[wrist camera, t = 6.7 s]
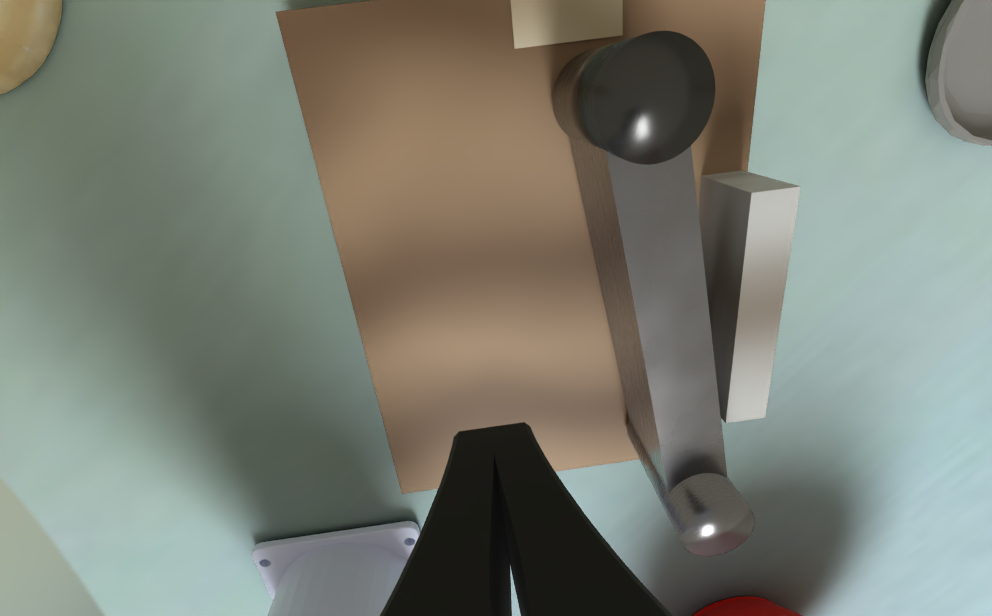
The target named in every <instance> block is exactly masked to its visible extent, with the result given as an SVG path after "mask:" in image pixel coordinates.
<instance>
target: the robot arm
mask: <svg viewBox="0 0 992 616" xmlns="http://www.w3.org/2000/svg"><path fill="white" fill-rule="evenodd" d="M408 538H412V539H408ZM251 556H252V558H253V561H254V563H255V565H256V567H257V569H258V571H259V573H260V575H261V577H262V579H263V582H264V584H265V586H266V588H267V590H268V592H269V594H270V596H271V598H272V600H273V602H272V605H271V608H270V610H269V613H268V616H512V609H511V580H510V566H511V570H512V575H513V580H514V585H515V589H516V594H517V599H518V603H519V608H520V613H521V616H672V615H671V614H670V613H669V612H668V611H667V610H666V609H665V607H664V606H663V605H662V604H661V603H660V602H659V601H658V600H657V599H656V598H655V597H654V596H653V595H652V593H651V592H650V591H649V590H648V589H647V588H646V587H645V586H644V585H643V584H642V583H641V582H640V580H639V579H638V578H637V577H636V576H635V575H634V574H633V573H632V571H631V570H630V569H629V568H628V567H627V566H626V565H625V563H624V562H623V561H622V560H621V559H620V558H619V556H618V555H617V554H616V553H615V552H614V550H613V549H612V548H611V547H610V545H609V544H608V543H607V542H606V541H605V539H604V538H603V537H602V536H601V534H600V533H599V532H598V531H597V529H596V528H595V527H594V526H593V524H592V523H591V522H590V520H589V519H588V518H587V516H586V515H585V514H584V513H583V511H582V510H581V508H580V507H579V506H578V504H577V503H576V501H575V500H574V499H573V497H572V496H571V494H570V493H569V492H568V490H567V489H566V487H565V486H564V485H563V483H562V482H561V480H560V479H559V477H558V476H557V474H556V473H555V471H554V469H553V468H552V466H551V465H550V463H549V461H548V460H547V458H546V456H545V455H544V453H543V451H542V449H541V448H540V446H539V444H538V442H537V440H536V438H535V436H534V434H533V431H532V429H531V427H530V426H529V425H528V424H526V423H525V422H521V423H514V424H507V425H500V426H493V427H486V428H479V429H472V430H465V431H459V432H458V433H457V434H456V435H455V436H454V438H453V443H452V447H451V451H450V455H449V459H448V462H447V465H446V468H445V471H444V474H443V477H442V480H441V483H440V486H439V488H438V491H437V494H436V496H435V499H434V501H433V504H432V506H431V509H430V511H429V514H428V516H427V518H426V521H425V523H424V526H423V528H422V531H421V533H420V531H419V527H418V525H417V524H416V523H414V522H412V521H404V522H397V523H391V524H384V525H377V526H370V527H363V528H356V529H350V530H343V531H336V532H329V533H322V534H316V535H309V536H302V537H295V538H288V539H282V540H275V541H268V542H261V543H258V544H256V545H255V546H254V549H253V551H252V553H251Z"/></svg>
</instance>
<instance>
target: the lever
mask: <svg viewBox="0 0 992 616" xmlns="http://www.w3.org/2000/svg"><path fill="white" fill-rule="evenodd" d="M714 100H715V77H714V72H713V68H712V65H711V63H710V60H709V58H708V57H707V55H706V53H705V52H704V50H703V49H702V48H701V47H700V46H699V45H698V44H697V43H696V42H695V41H694V40H692V39H691V38H689V37H687V36H685V35H683V34H681V33H677V32H673V31H654V32H650V33H646V34H642V35H639V36H636V37H632V38H629V39H626V40H623V41H619V42H616V43H613V44H609V45H606V46H603V47H599V48H596V49H593V50H590V51H586V52H584V53H581V54H579V55H578V56H576V57H574V58H573V59H572V60H570V61H569V62H568V63H567V64H566V65H565V67H564V68H563V69H562V71H561V72H560V74H559V76H558V78H557V80H556V82H555V85H554V89H553V96H552V106H553V112H554V115H555V118H556V121H557V123H558V124H559V126H560V128H561V129H562V130H563V131H564V132H565V133H566V134H567V135H568V136H569V140H570V144H571V149H572V154H573V158H574V163H575V168H576V172H577V177H578V182H579V187H580V191H581V196H582V201H583V205H584V210H585V215H586V219H587V224H588V229H589V233H590V238H591V243H592V248H593V252H594V257H595V262H596V266H597V271H598V276H599V280H600V285H601V290H602V294H603V299H604V304H605V309H606V313H607V318H608V323H609V327H610V332H611V337H612V341H613V346H614V351H615V356H616V360H617V365H618V370H619V374H620V379H621V384H622V388H623V393H624V398H625V402H626V407H627V412H628V417H629V421H628V424H627V435H628V437H629V439H630V441H631V443H632V445H633V447H634V449H635V451H636V453H637V455H638V457H639V459H640V461H641V463H642V465H643V467H644V469H645V471H646V473H647V475H648V477H649V479H650V481H651V483H652V485H653V487H654V489H655V491H656V493H657V495H658V497H659V499H660V501H661V503H662V505H663V507H664V509H665V510H666V512H667V514H668V516H669V518H670V520H671V522H672V524H673V526H674V528H675V530H676V532H677V534H678V536H679V538H680V540H681V542H682V544H683V546H684V547H685V548H686V549H687V550H688V551H690V552H691V553H693V554H696V555H701V556H713V555H719V554H723V553H726V552H728V551H731V550H732V549H734V548H736V547H738V546H739V545H740V544H742V543H743V542H744V541H745V540H746V539H747V538H748V537H749V535H750V534H751V532H752V530H753V528H754V524H755V518H754V514H753V512H752V511H751V509H750V508H749V507H748V505H747V504H746V502H745V501H744V499H743V498H742V497H741V495H740V494H739V492H738V491H737V490H736V488H735V487H734V485H733V484H732V483H731V481H730V480H729V478H728V477H727V471H726V462H725V453H724V444H723V434H722V425H721V416H720V407H719V398H718V388H717V379H716V370H715V361H714V352H713V342H712V333H711V324H710V315H709V306H708V296H707V287H706V278H705V269H704V260H703V250H702V241H701V232H700V223H699V214H698V204H697V195H696V186H695V177H694V168H693V158H692V149H691V145H692V144H693V143H694V142H695V141H696V140H697V138H698V137H699V136H700V134H701V133H702V131H703V130H704V128H705V126H706V125H707V122H708V120H709V118H710V115H711V112H712V109H713V105H714Z"/></svg>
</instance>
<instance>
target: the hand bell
mask: <svg viewBox="0 0 992 616" xmlns="http://www.w3.org/2000/svg"><path fill="white" fill-rule="evenodd" d="M61 15H62V0H0V95H1V94H4V93H6V92H8V91H10V90H12V89H14V88H16V87H18V86H19V85H20V84H22V83H23V82H24V81H25V80H27V79H28V78H30V77H31V76H32V75H33V74H34V73H35V72H36V71H37V70H38V69H39V67H40V66H41V65H42V64H43V63H44V61H45V59H46V57H47V55H48V54H49V53H50V51H51V49H52V47H53V44H54V41H55V39H56V36H57V33H58V28H59V25H60V21H61Z"/></svg>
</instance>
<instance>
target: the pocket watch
mask: <svg viewBox="0 0 992 616" xmlns="http://www.w3.org/2000/svg"><path fill="white" fill-rule="evenodd" d="M925 84H926V90H927V97H928V102H929V104H930V107H931V110H932V113H933V115H934V117H935V119H936V120H937V121H938V122H939V123H940V124H941V126H942V127H943V128H944V129H945V130H946V131H947V132H948V133H949V134H950V135H952V136H954V137H957V138H959V139H961V140H963V141H965V142H970V143H975V144H979V145H989V146H992V0H952V1H951V3H950V5H949V6H948V8H947V10H946V12H945V13H944V15H943V17H942V19H941V20H940V22H939V24H938V27H937V30H936V32H935V35H934V38H933V41H932V44H931V47H930V50H929V55H928V62H927V70H926V78H925Z"/></svg>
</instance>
